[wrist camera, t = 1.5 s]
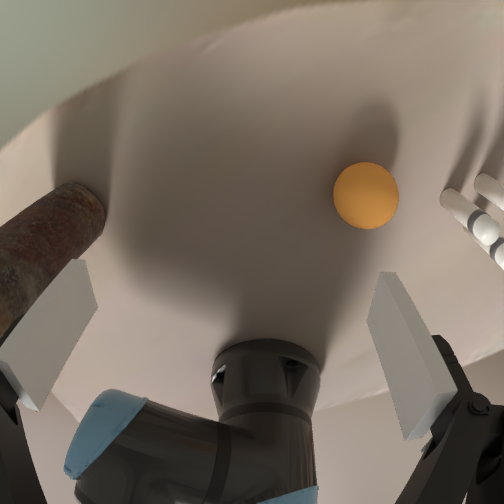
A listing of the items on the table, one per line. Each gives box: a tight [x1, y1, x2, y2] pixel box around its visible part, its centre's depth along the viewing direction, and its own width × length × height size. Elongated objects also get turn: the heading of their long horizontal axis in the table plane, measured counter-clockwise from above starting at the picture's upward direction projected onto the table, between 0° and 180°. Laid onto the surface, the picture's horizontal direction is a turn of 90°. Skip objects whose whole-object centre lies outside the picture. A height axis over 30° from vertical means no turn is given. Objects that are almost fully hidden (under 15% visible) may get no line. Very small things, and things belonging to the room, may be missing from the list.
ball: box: [333, 162, 399, 229], centre depth 27 cm, size 6×6×6 cm
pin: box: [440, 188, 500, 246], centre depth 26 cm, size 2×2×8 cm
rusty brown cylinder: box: [0, 183, 105, 338], centre depth 24 cm, size 8×7×20 cm
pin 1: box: [474, 173, 504, 211], centre depth 25 cm, size 2×2×8 cm
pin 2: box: [463, 225, 504, 270], centre depth 28 cm, size 2×2×8 cm
